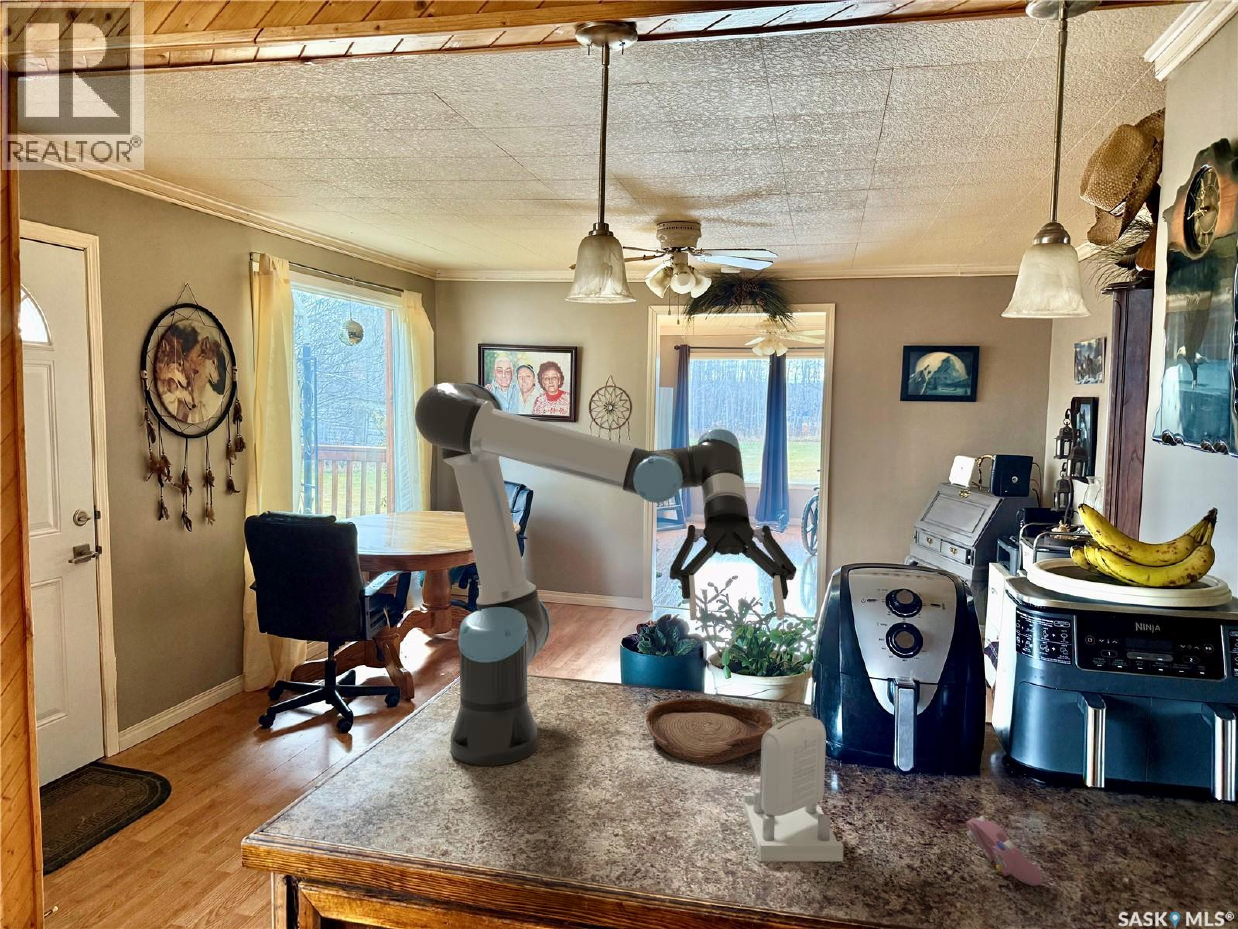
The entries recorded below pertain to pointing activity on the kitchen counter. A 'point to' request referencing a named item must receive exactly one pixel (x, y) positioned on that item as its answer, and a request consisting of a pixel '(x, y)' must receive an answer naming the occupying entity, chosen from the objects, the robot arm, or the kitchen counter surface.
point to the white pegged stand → (791, 833)
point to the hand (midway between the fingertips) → (737, 616)
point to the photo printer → (792, 765)
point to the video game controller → (1002, 851)
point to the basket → (707, 729)
